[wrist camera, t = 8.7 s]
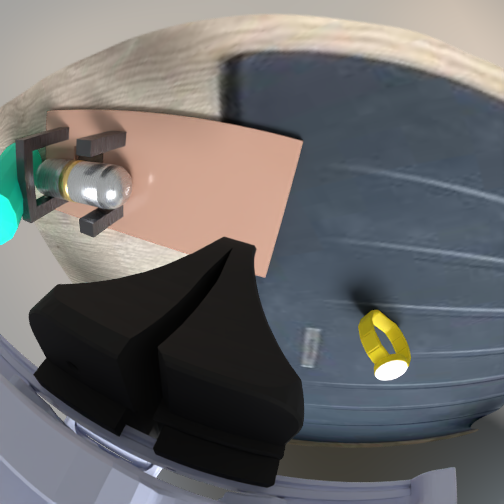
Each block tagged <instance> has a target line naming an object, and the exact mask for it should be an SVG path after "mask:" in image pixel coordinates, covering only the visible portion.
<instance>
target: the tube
mask: <svg viewBox="0 0 504 504" xmlns="http://www.w3.org/2000/svg"><path fill="white" fill-rule="evenodd" d="M34 181H35V185H36V188H37V189H38V190H39V192H40V193H42V194H44V195H47V196H51V197H56V198H60V199H64V200H67V201H71V202H75V203H81V204H86V205H90V206H94V207H98V208H103V209H109V210H110V209H116V208H118V207H121V206H122V205H123V204H125V203H126V202H127V200H128V199H129V197H130V195H131V192H132V179H131V176H130V174H129V173H128V172H127V171H126V169H125V168H123V167H121V166H119V165H115V164H107V163H98V162H88V161H83V160H67V159H53V158H52V159H47V160H45V161H43V162H42V163H41V164H40V165H39V166H38V168H37V170H36V172H35V177H34Z"/></svg>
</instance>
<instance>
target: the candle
mask: <svg viewBox="0 0 504 504" xmlns="http://www.w3.org/2000/svg"><path fill="white" fill-rule="evenodd" d="M41 163H42V159H41V156H40V154H39V151H38V149H37V150H34V151H33V173H34V177H35V172H36V170H37V168H38V166H39V165H40V164H41ZM34 185H35V181H34ZM22 215H23V196H22V193H21V190H20V186H19V183H18V179H17V167H16V143H13V144H11V145H10V146H8V147H7V148H6V149H5V150H4V152H3V153H2V154H1V155H0V245H2V244H4V243H5V242H7V241H9V240H10V239H12V238H13V236H14V234H15V232H16V230H17V228H18V225H19V223H20V220H21V217H22Z"/></svg>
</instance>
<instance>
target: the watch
mask: <svg viewBox="0 0 504 504" xmlns="http://www.w3.org/2000/svg"><path fill="white" fill-rule="evenodd" d="M373 324H374V325H375V326H376V327H378V328H379V329H380V330H382V331H383V332H384V333H385V334H386V335H387V337H388V338H389V340H390V341H391V343H392V345H393V348H394V350H395V352H396V354H390V355H389V353H388V352H387V351H386V349H385V348H384V347H383V346H382V345H381V342H380V340H379V338H378V336H377V334H376V332H375V329H374V325H373ZM358 329H359V335H360V339H361V342H362V344H363V346H364V349H365V351H366V353H367V354H368V356H369V357H370V359H371V360H372V361H373V363H374V364H375V365H374V373H375V376H376V378H378V379H380V380H392V379H395V378H397V377H399V376H401V375H402V374H404V373H405V371H406V370H407V367H408V366H409V364H410V360H411V355H410V350H409V346H408V344H407V341H406V339H405V337H404V336H403V333H402V332H401V330H400V329H399V327H398V326H397V324H396V323H394V322H393V321H391V320H390V319H389V318H388V317H386V316H385V315H384V314H383V313H381V312H380V311H379V310H372V311H370V312H369V313H368V314H367V315H365V316H364V317H363V318H362V319H361V320H360V323H359V326H358Z"/></svg>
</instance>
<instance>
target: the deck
mask: <svg viewBox="0 0 504 504" xmlns="http://www.w3.org/2000/svg"><path fill="white" fill-rule="evenodd" d="M58 127H69V140H65V141H62V142H59V143H55V144H52V145H49V146H46V160H47V159H52V158H53V159H67V160H78V157H79V155H76V139H79V138H82V137H86V136H90V135H94V134H98V133H102V132H107V131H111V130H114V131H124V132H127V133H126V145H125V146H124V147H121V148H117V149H114V150H111V151H108V152H105V153H103V163H107V164H115V165H119V166H121V167H123V168H125V169H126V171H127V172H128V173H129V174H130V176H131V179H132V192H131V195H130V197H129V199H128V200H127V202H126V203H125V204H123V217H122V218H121V219H119V220H118V221H116V222H115V223H113V224H112V225H110V226H109V227H108V228H110V229H113V230H116V231H119V232H122V233H125V234H128V235H131V236H134V237H137V238H140V239H143V240H146V241H149V242H152V243H155V244H158V245H161V246H165V247H168V248H171V249H174V250H177V251H180V252H183V253H186V254H192V253H194V252H196V251H198V250H199V249H201V248H203V247H205V246H207V245H209V244H211V243H212V242H214V241H216V240H218V239H220V238H222V237H228V238H231V239H235V240H238V241H241V242H245V243H248V244H252V245H255V247H256V249H257V250H256V254H255V258H254V268H255V275H258V276H261V277H266V273H267V270H268V267H269V263H270V260H271V256H272V253H273V249H274V246H275V242H276V239H277V235H278V232H279V228H280V225H281V221H282V218H283V214H284V210H285V207H286V203H287V200H288V196H289V192H290V189H291V185H292V182H293V178H294V174H295V170H296V167H297V163H298V159H299V156H300V152H301V148H302V144H303V140H299V139H296V138H292V137H288V136H284V135H281V134H277V133H272V132H268V131H264V130H260V129H255V128H251V127H246V126H241V125H236V124H231V123H225V122H220V121H214V120H208V119H202V118H195V117H188V116H181V115H172V114H163V113H153V112H142V111H127V110H101V109H73V110H50V111H47V119H46V130H50V129H54V128H58ZM96 208H98V207H94V206H90V205H86V204H81V203H75V202H71V201H69V202H67V203H65V204H63V205H61V206H60V207H58V208H56V209H55V210H58V211H61V212H63V213H66V214H69V215H72V216H75V217H78V218H82V217H83V216H85V215H86V214H88V213H90V212H91V211H93V210H95V209H96Z"/></svg>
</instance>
